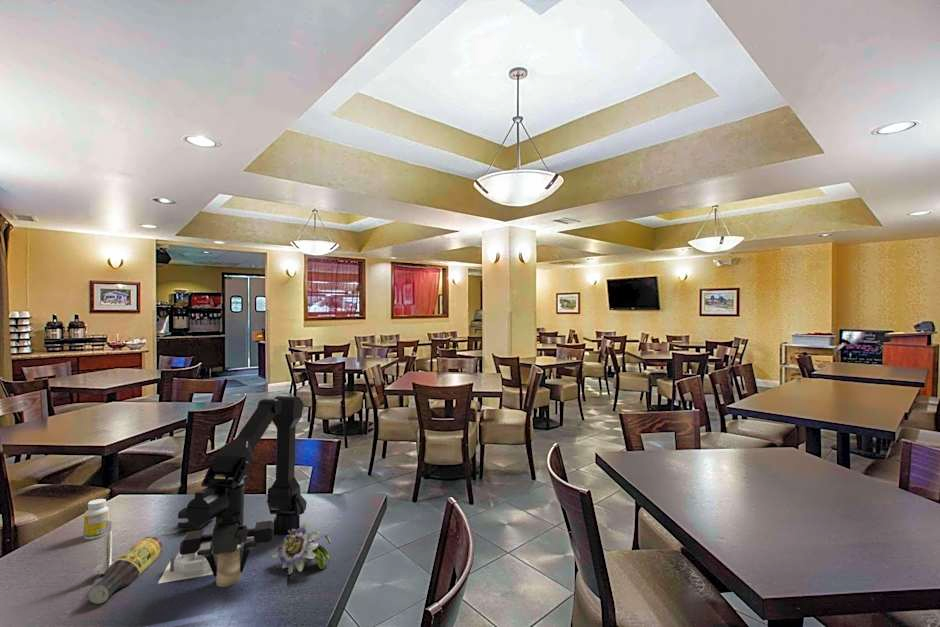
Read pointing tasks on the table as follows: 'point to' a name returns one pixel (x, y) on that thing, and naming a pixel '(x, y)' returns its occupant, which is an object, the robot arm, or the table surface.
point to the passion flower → (301, 549)
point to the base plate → (171, 576)
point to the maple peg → (229, 567)
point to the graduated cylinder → (106, 550)
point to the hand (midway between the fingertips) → (228, 573)
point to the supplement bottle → (95, 519)
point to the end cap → (186, 523)
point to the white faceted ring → (189, 564)
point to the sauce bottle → (126, 568)
